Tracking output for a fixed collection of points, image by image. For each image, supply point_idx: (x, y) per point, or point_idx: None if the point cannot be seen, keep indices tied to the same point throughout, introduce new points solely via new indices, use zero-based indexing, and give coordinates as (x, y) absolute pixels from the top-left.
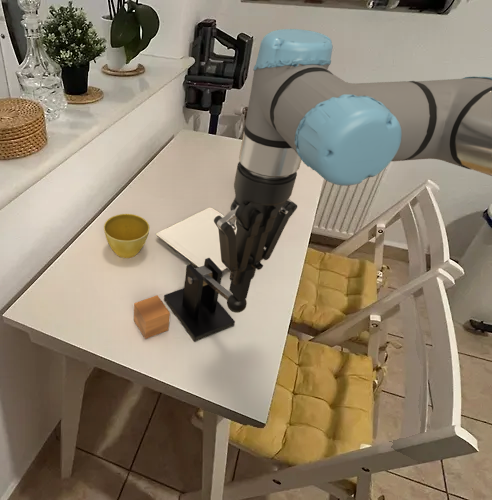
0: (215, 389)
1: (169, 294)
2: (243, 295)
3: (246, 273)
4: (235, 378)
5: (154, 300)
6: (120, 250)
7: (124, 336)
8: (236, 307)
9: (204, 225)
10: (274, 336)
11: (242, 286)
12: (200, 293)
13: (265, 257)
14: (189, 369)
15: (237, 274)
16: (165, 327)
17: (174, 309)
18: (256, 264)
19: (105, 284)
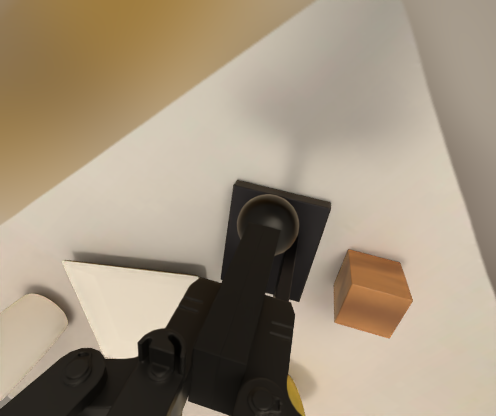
0: (397, 91)
1: (290, 297)
2: (261, 238)
3: (243, 346)
4: (337, 84)
5: (350, 318)
6: (298, 402)
7: (424, 288)
8: (290, 216)
9: (134, 339)
10: (186, 110)
11: (267, 280)
12: (281, 285)
13: (89, 378)
14: (395, 163)
15: (281, 363)
16: (356, 258)
17: (308, 272)
18: (168, 369)
19: (354, 365)
